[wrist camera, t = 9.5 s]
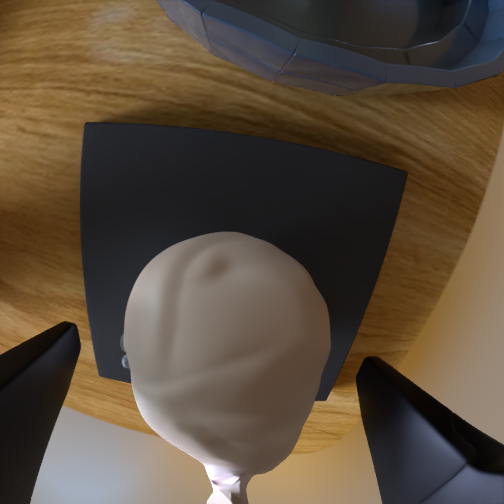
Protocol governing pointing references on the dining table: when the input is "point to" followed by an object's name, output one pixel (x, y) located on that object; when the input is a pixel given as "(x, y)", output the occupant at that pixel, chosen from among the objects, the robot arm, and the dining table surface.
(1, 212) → the dining table surface
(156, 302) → the garlic bulb
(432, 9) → the glazed bowl
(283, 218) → the coaster
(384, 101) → the dining table surface
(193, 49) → the dining table surface
